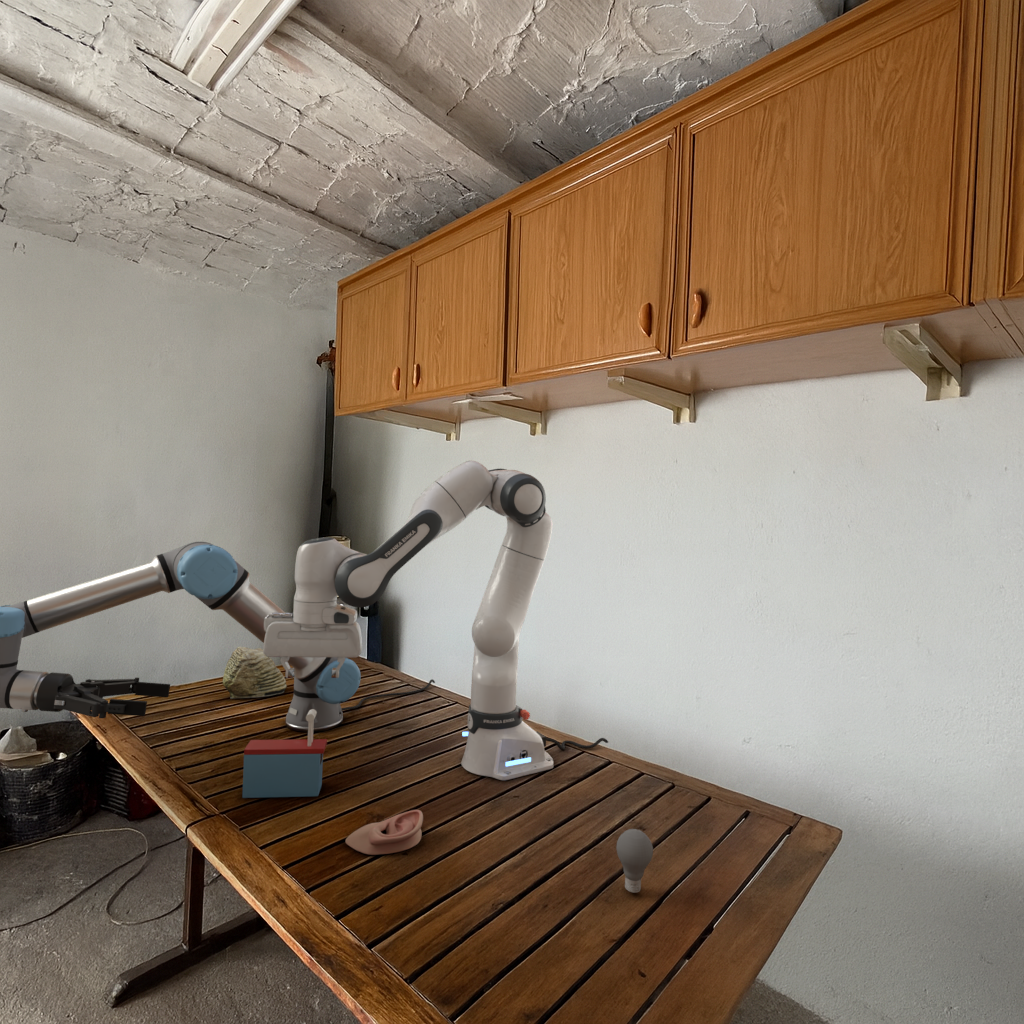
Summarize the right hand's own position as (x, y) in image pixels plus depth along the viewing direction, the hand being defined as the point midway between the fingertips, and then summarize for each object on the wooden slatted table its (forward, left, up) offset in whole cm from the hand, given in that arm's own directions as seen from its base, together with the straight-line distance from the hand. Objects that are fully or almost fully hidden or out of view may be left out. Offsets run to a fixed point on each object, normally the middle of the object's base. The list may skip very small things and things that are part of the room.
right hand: (312, 677), depth 136 cm
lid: (+5, -1, -16) cm, 16 cm away
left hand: (+30, -8, -5) cm, 31 cm away
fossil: (+10, -71, -25) cm, 76 cm away
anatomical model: (-12, +24, -25) cm, 37 cm away
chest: (+5, -1, -25) cm, 25 cm away
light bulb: (-47, +53, -25) cm, 75 cm away
